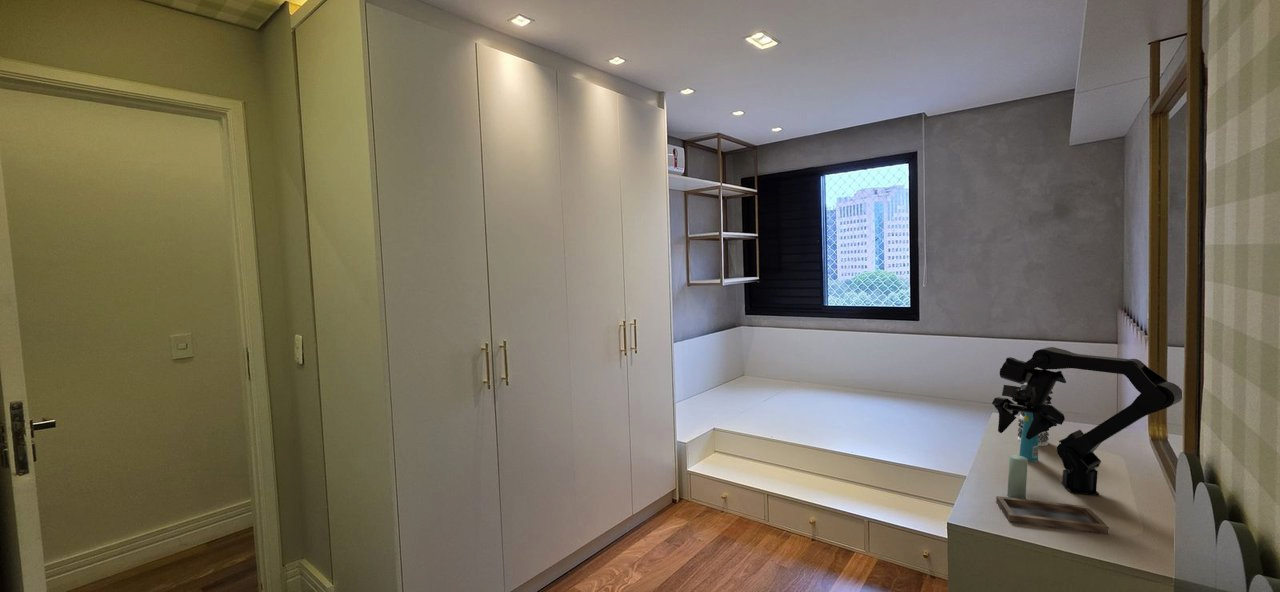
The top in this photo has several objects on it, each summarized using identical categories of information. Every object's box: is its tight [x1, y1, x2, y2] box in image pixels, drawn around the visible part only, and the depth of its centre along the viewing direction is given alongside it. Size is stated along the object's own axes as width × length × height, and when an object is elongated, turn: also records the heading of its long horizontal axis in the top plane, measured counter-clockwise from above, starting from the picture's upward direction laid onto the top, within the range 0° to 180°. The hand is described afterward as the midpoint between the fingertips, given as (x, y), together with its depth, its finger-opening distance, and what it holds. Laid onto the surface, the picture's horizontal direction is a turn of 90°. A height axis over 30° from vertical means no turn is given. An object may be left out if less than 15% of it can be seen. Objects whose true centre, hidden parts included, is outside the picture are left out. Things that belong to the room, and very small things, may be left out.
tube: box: [1018, 413, 1039, 463], centre depth 169 cm, size 7×5×19 cm, turn 140°
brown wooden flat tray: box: [995, 495, 1110, 535], centre depth 135 cm, size 20×10×2 cm, turn 72°
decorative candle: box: [1017, 368, 1054, 447], centre depth 184 cm, size 9×9×25 cm
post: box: [1006, 454, 1029, 499], centre depth 145 cm, size 4×4×11 cm
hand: (1013, 435), depth 153 cm, fingers open, 9 cm apart
